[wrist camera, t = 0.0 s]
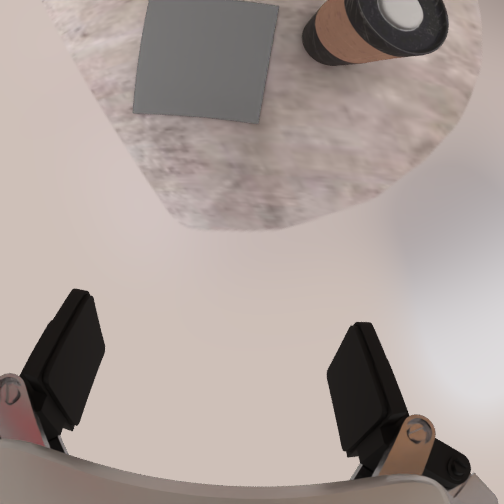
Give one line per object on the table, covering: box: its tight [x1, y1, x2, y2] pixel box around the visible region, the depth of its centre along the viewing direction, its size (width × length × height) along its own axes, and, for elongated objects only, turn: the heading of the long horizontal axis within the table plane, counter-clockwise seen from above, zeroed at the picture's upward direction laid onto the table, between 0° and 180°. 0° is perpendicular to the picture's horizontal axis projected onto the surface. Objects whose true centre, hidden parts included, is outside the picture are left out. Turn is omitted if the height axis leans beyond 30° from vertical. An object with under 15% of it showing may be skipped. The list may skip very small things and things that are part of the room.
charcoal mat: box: [133, 0, 279, 124], centre depth 30 cm, size 16×16×1 cm
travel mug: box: [302, 0, 449, 66], centre depth 21 cm, size 8×8×20 cm
